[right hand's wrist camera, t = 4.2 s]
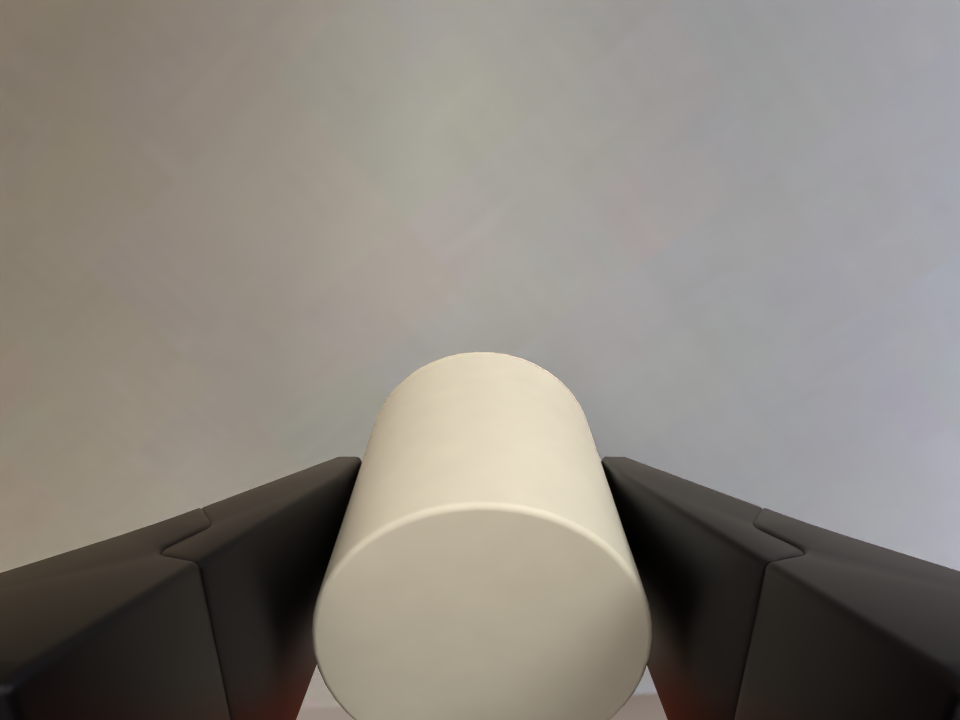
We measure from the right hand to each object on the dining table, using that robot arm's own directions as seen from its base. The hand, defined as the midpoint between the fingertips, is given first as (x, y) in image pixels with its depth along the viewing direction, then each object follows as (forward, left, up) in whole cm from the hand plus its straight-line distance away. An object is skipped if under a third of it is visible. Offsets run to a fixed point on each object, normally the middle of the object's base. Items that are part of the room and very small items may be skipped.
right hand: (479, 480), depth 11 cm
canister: (0, 0, -1) cm, 1 cm away
